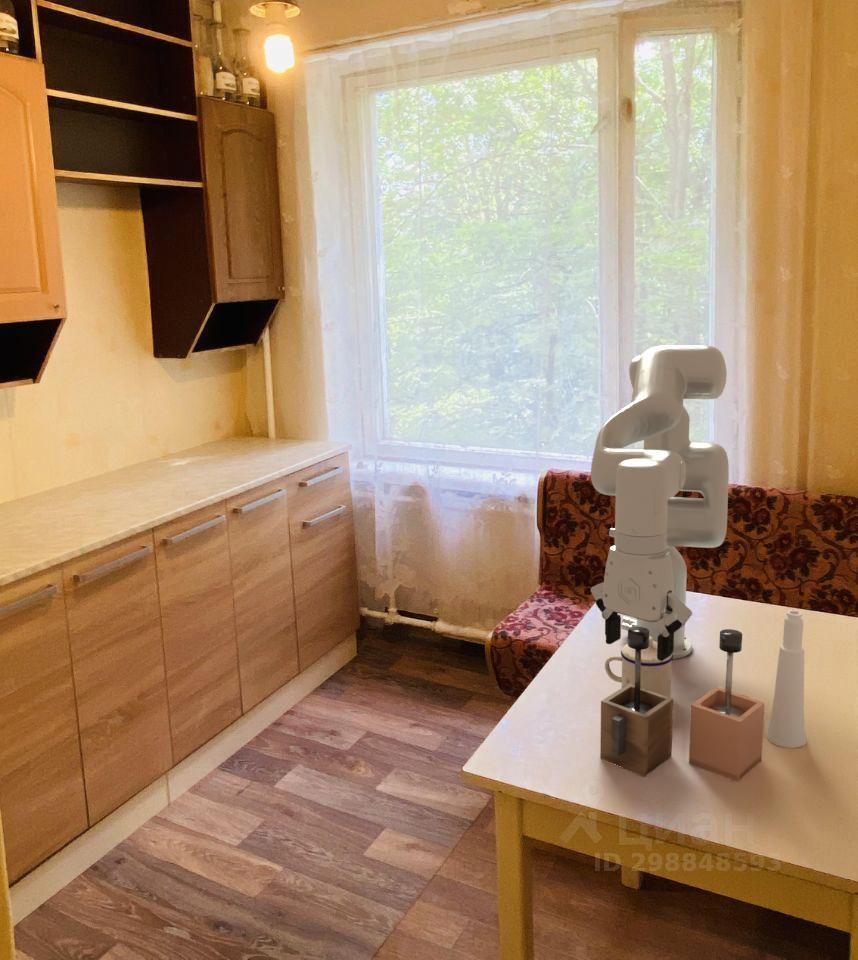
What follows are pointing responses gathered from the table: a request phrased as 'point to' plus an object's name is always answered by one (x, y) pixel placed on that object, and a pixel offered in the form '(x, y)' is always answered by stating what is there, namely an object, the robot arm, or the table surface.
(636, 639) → the dark metallic plunger
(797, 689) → the cosmetic bottle
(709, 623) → the table surface
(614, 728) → the wooden handled box
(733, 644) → the black knobbed plunger
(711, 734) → the square planter pot
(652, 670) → the teacup with lid
